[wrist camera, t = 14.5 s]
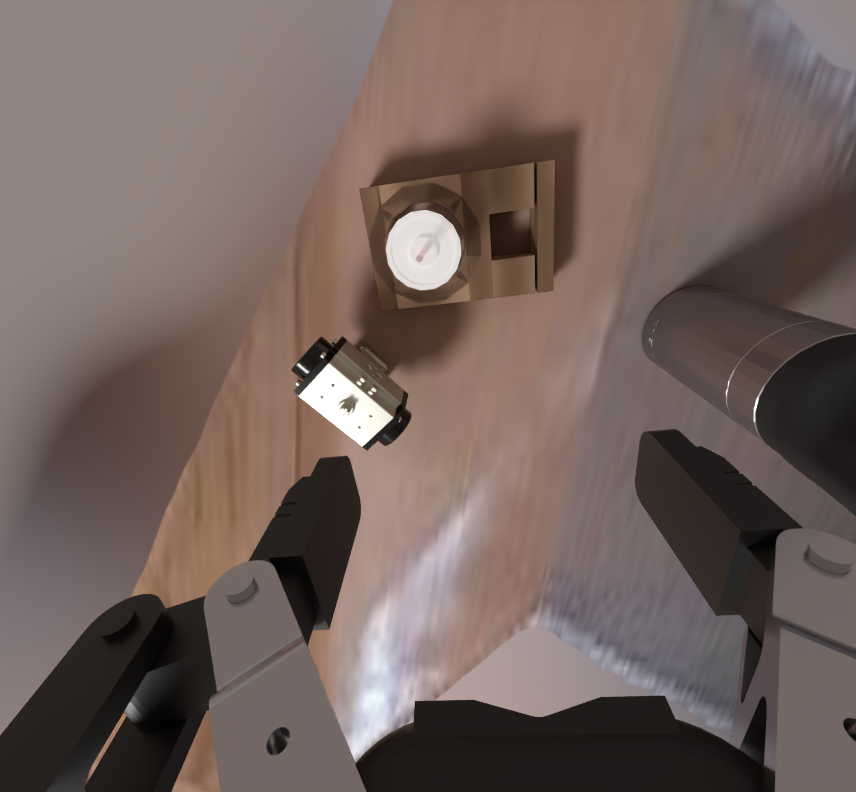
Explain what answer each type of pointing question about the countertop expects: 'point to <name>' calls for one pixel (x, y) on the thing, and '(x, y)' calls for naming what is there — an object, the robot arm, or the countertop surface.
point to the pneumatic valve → (352, 391)
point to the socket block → (469, 233)
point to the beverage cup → (423, 250)
